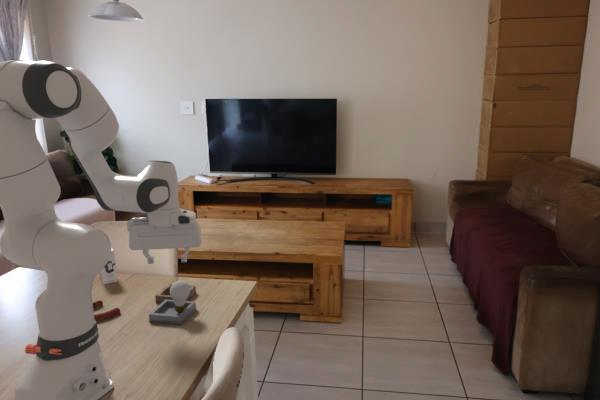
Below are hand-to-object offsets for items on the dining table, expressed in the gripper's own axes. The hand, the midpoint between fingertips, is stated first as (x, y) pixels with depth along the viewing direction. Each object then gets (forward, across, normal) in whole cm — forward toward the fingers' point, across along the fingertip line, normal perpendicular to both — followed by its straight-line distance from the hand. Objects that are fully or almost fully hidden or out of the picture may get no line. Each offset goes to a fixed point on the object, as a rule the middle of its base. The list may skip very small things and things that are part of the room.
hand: (167, 262), depth 133 cm
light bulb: (+16, +2, 0) cm, 16 cm away
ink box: (+17, -27, +33) cm, 46 cm away
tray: (+17, 0, +1) cm, 17 cm away
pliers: (+18, -27, +3) cm, 32 cm away
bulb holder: (+17, 0, +13) cm, 21 cm away
